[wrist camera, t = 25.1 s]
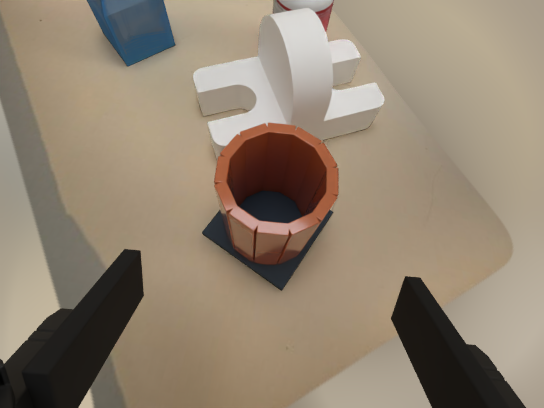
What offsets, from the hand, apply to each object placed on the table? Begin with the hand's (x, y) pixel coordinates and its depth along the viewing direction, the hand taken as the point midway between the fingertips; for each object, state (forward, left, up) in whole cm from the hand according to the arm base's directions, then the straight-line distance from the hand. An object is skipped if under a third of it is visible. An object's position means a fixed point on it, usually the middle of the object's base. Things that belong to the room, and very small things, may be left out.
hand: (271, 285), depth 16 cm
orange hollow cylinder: (+4, -6, -12) cm, 14 cm away
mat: (+4, -6, -13) cm, 15 cm away
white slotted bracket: (+10, -18, -13) cm, 24 cm away
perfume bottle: (+30, -16, -13) cm, 36 cm away
